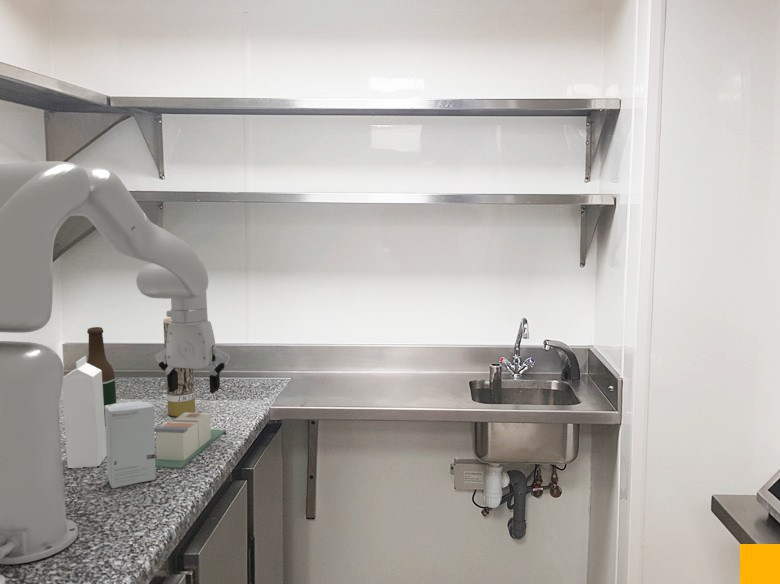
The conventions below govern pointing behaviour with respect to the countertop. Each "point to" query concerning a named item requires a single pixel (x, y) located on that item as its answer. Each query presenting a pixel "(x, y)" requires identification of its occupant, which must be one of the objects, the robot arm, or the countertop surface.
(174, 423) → the lidded cream box
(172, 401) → the paper tube
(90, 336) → the beer bottle
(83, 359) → the milk
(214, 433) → the mat
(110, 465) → the skincare box
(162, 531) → the countertop surface
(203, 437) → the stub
